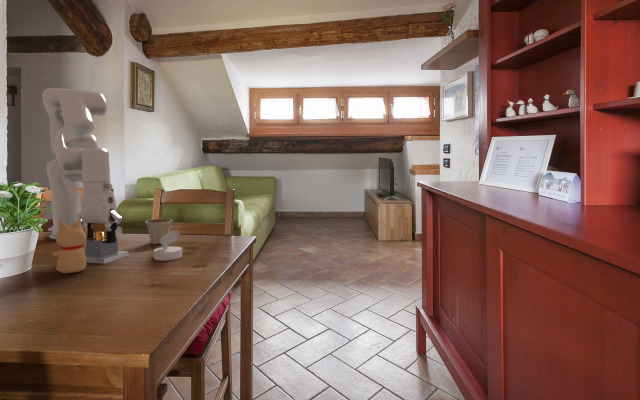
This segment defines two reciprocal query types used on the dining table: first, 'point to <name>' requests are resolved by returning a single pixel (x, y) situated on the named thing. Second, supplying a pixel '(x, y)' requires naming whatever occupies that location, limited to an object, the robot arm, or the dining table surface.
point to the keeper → (109, 257)
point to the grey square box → (100, 247)
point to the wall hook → (165, 251)
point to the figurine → (71, 247)
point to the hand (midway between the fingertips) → (100, 241)
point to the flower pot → (158, 229)
